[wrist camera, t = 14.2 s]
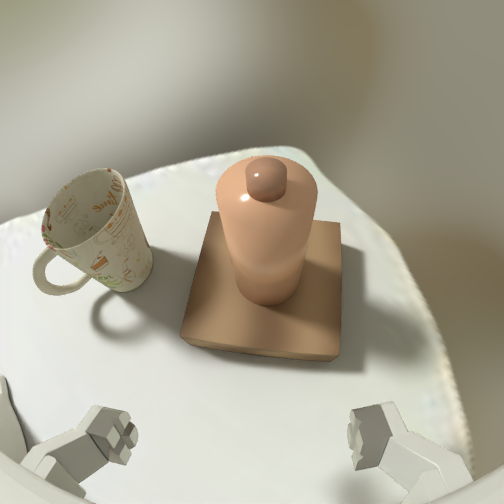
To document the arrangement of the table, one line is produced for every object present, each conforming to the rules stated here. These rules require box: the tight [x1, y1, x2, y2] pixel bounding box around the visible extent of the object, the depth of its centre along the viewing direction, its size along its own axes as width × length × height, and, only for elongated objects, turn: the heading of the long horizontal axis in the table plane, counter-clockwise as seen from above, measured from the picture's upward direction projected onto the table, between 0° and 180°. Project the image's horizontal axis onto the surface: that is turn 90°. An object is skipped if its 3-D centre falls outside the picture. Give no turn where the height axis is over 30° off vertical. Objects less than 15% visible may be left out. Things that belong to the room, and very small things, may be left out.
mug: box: [33, 168, 153, 296], centre depth 22 cm, size 8×12×10 cm, turn 132°
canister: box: [216, 155, 318, 306], centre depth 18 cm, size 5×5×11 cm
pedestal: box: [180, 211, 342, 362], centre depth 24 cm, size 12×12×3 cm
